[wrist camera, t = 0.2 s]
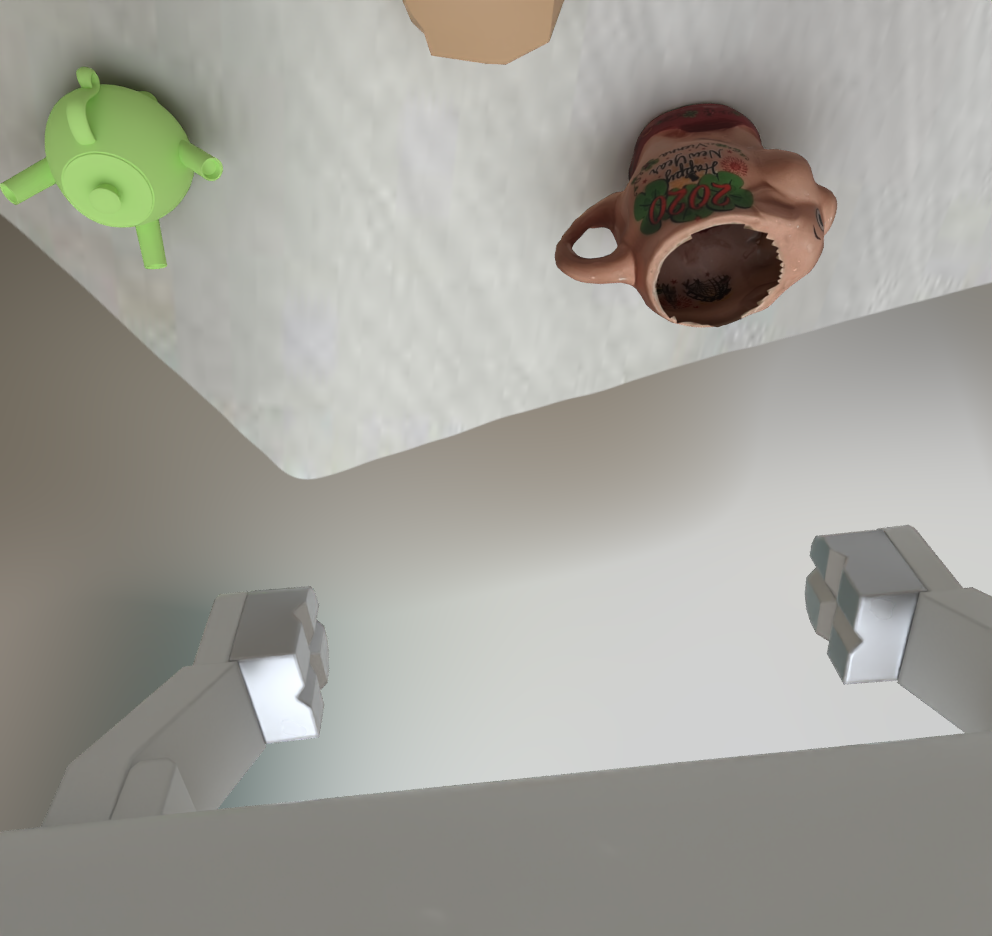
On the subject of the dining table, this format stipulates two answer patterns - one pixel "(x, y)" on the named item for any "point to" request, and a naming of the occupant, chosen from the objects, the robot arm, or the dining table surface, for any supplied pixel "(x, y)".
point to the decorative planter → (706, 220)
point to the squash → (484, 27)
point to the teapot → (116, 160)
